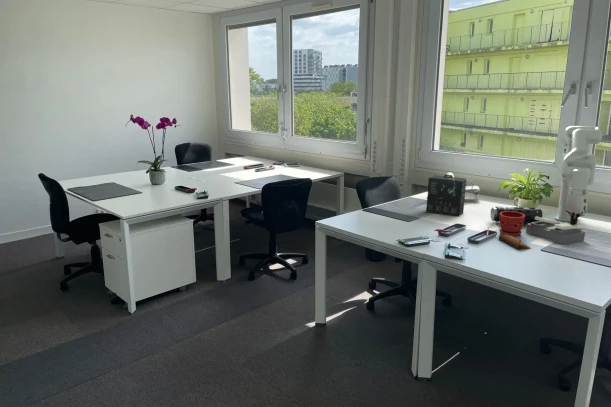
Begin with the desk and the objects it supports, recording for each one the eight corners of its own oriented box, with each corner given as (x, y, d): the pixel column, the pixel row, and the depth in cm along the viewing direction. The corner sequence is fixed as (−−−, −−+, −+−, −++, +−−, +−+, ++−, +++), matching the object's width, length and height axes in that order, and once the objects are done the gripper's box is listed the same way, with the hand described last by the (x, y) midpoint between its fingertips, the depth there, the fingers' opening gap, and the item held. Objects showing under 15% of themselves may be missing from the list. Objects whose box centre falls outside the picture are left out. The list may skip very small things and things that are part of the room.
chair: (444, 196, 353) (446, 171, 348) (478, 198, 345) (480, 173, 340) (443, 200, 340) (445, 174, 336) (478, 202, 333) (481, 176, 328)
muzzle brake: (541, 225, 275) (543, 209, 272) (494, 224, 277) (495, 208, 275) (535, 221, 284) (537, 205, 281) (489, 220, 286) (490, 204, 284)
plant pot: (494, 230, 265) (496, 210, 263) (516, 230, 265) (519, 210, 262) (502, 237, 253) (505, 216, 250) (526, 237, 252) (529, 216, 249)
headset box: (464, 213, 304) (467, 175, 298) (459, 217, 295) (462, 178, 288) (431, 208, 316) (433, 172, 310) (425, 212, 306) (427, 174, 300)
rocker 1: (548, 222, 263) (549, 219, 262) (556, 224, 258) (557, 221, 258) (534, 219, 258) (535, 216, 258) (541, 221, 253) (542, 218, 253)
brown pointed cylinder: (533, 249, 234) (528, 238, 232) (521, 256, 233) (516, 246, 231) (511, 238, 251) (507, 228, 249) (501, 245, 251) (496, 235, 249)
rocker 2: (569, 226, 251) (570, 223, 250) (577, 228, 246) (578, 225, 246) (553, 227, 246) (554, 223, 246) (562, 229, 242) (562, 226, 241)
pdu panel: (541, 227, 271) (542, 217, 269) (583, 241, 246) (585, 230, 244) (521, 230, 265) (522, 220, 264) (562, 244, 240) (564, 233, 239)
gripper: (595, 194, 238) (590, 227, 242) (570, 188, 251) (565, 220, 256) (585, 195, 235) (581, 229, 240) (560, 189, 249) (556, 221, 253)
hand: (573, 224), depth 248 cm, fingers closed
